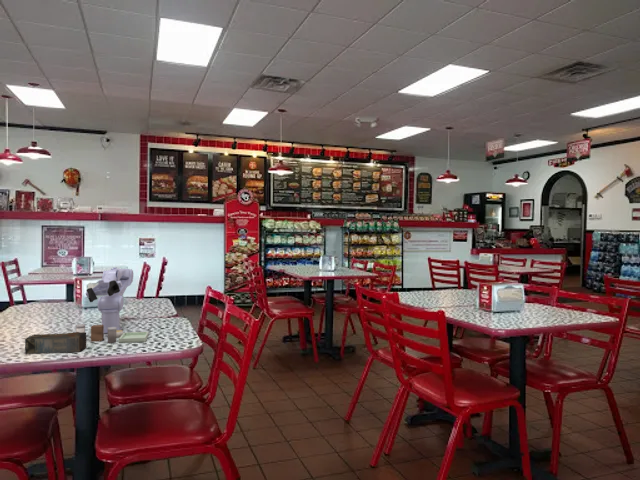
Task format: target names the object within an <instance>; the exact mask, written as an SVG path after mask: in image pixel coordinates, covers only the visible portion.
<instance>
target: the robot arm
mask: <svg viewBox="0 0 640 480" xmlns="http://www.w3.org/2000/svg"><path fill="white" fill-rule="evenodd" d="M133 281H134V270H133V268H131V269H130V268H118V267H112V268H111V269H108V270H107V269H106V270H103V271H102V275H101V279H100V280H98V281H97V282H98V284H96V285H95V286H93V287H89V288H87V289H86V292H85V296H86V297H87V298H88V301H89V302H90V303H93V302H94V301H96V300H97V309H98V311H99V312H100V313H101V325H104V334H108V327H117V330H123V327H120V323H121V321H120V319H121V317H120V311H122V310H123V308H124V300H125V299H124V296H123V295H124V294H125V292H126V290H127V288H128V287H129V286H131V285H132V283H133ZM98 296H100V297H98Z"/></svg>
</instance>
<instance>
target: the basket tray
mask: <svg viewBox="0 0 640 480" xmlns="http://www.w3.org/2000/svg"><path fill="white" fill-rule="evenodd" d="M149 333H150V332H149V331H140V332H139V331H133V332H131V331H130V332H123V334H122V336H121V337H120V338H118V344H130V343H131V344H133V343H146V342H147V340H148V338H149V337H150V335H149Z"/></svg>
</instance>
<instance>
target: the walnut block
mask: <svg viewBox="0 0 640 480" xmlns="http://www.w3.org/2000/svg"><path fill="white" fill-rule="evenodd" d="M104 337H105V333H104V325H102V324H93V325H91V327H90V342H92V343H93V342H94V343H95V342H102V341H103V340H104Z"/></svg>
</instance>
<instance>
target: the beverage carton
mask: <svg viewBox="0 0 640 480" xmlns="http://www.w3.org/2000/svg"><path fill="white" fill-rule="evenodd" d="M24 345H25V346H24V353H25V355H38V354H39V355H40V354H58V353H60V354H62V353H63V354H64V353H80V352H81V351H83V350H85V349H86V348H87V332H86V331H85V332H82V333H80V332H76V331H75V332H66V333H65V332H64V333H45V334H44V333H43V334H40V333H38V334H33V335H29V336H28V337H26V338H25V339H24Z"/></svg>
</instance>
